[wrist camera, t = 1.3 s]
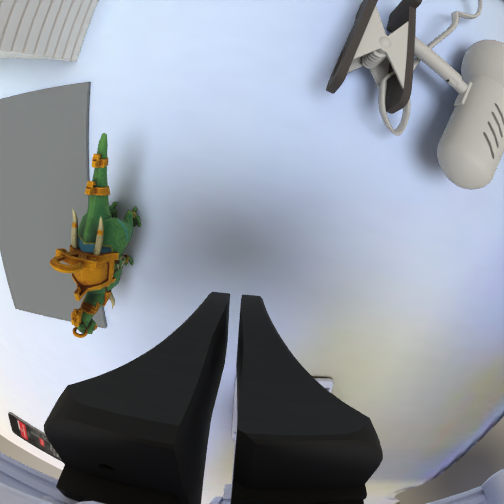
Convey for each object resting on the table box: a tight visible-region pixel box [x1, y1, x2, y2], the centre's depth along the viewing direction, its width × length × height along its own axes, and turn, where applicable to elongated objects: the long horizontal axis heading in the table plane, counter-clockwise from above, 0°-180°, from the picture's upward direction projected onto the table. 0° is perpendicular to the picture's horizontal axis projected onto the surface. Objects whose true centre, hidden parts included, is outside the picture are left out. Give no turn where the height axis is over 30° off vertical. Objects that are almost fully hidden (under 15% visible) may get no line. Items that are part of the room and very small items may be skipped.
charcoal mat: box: [0, 82, 107, 328], centre depth 20 cm, size 18×10×1 cm, turn 175°
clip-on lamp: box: [326, 0, 504, 189], centre depth 12 cm, size 12×6×18 cm
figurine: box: [50, 133, 141, 338], centre depth 16 cm, size 3×12×8 cm, turn 164°
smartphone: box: [8, 412, 63, 462], centre depth 34 cm, size 7×1×15 cm
